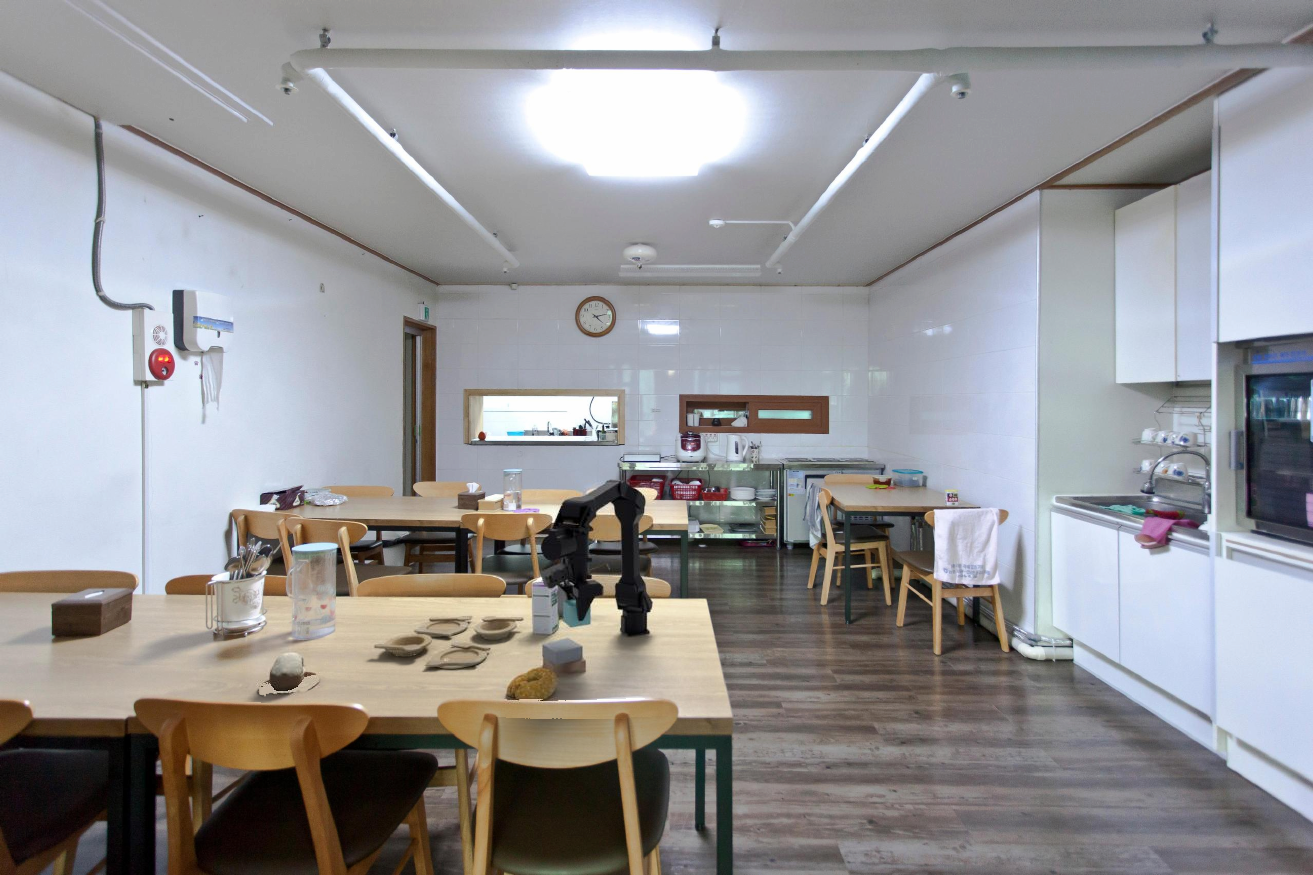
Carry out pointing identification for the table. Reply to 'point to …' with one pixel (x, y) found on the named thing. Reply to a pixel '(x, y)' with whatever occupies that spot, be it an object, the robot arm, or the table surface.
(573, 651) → the grey square block
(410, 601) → the table surface
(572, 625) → the teal cube
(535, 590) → the syrup box
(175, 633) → the table surface
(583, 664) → the walnut slab
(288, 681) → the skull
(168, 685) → the table surface
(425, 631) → the tableware set
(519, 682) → the bagel
